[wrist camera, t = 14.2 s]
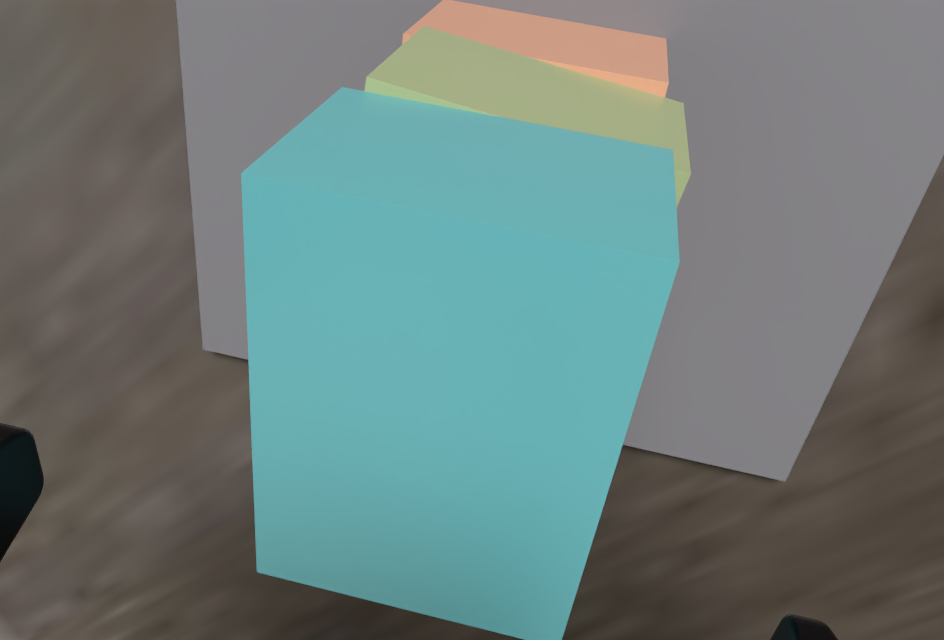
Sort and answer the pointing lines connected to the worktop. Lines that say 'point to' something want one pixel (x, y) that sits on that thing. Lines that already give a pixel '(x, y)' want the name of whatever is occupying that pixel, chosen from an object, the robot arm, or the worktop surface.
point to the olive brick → (530, 93)
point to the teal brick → (447, 351)
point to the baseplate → (701, 205)
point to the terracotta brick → (558, 43)
